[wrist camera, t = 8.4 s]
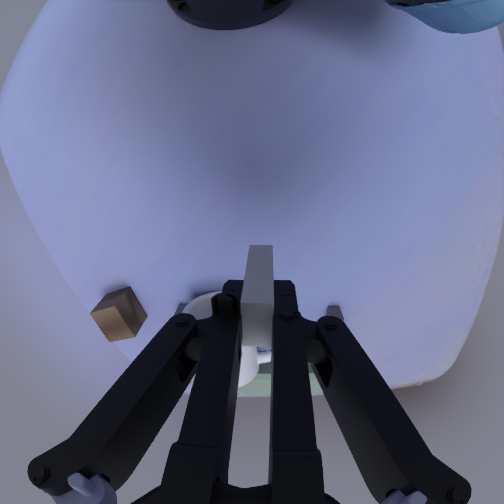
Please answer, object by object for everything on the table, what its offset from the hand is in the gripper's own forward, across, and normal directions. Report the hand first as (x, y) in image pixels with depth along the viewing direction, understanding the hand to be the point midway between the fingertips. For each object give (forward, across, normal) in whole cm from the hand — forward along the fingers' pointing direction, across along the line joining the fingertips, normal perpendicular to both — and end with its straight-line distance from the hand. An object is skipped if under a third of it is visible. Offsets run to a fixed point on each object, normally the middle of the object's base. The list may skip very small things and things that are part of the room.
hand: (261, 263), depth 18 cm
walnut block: (+12, -20, -13) cm, 26 cm away
